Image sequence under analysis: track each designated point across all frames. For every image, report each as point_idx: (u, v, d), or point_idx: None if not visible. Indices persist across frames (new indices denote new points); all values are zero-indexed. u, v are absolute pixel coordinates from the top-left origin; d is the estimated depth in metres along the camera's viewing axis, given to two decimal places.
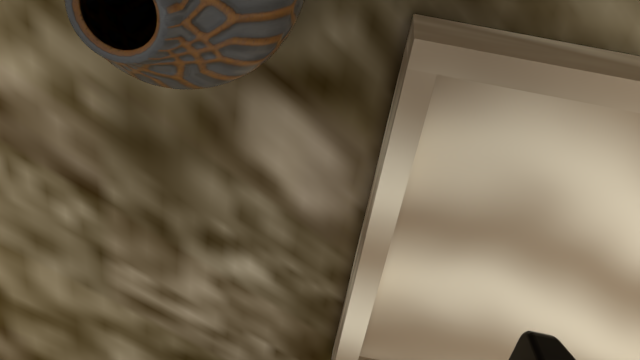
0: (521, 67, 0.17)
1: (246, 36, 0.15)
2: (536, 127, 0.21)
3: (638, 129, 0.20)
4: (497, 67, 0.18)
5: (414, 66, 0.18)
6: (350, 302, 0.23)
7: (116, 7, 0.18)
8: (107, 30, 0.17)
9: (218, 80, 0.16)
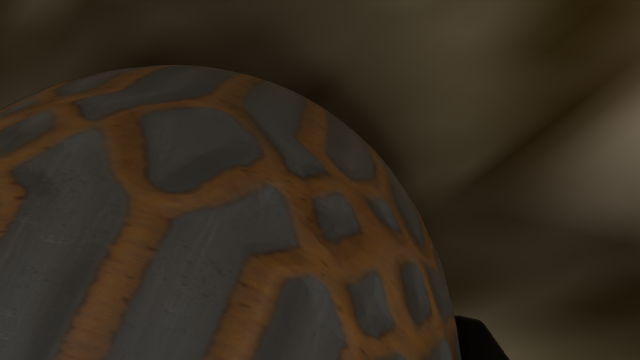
0: None
1: None
2: None
3: None
4: None
5: None
6: None
7: None
8: None
9: None
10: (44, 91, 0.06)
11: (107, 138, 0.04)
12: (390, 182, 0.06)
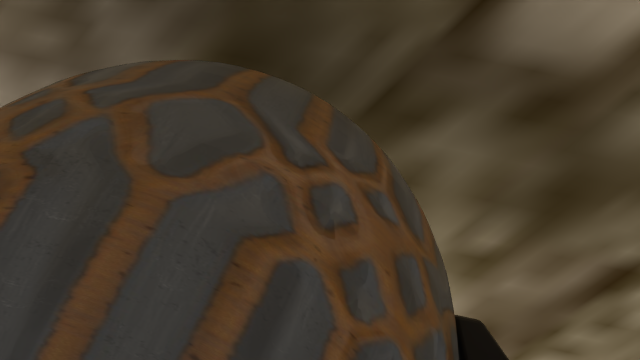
0: None
1: None
2: None
3: None
4: None
5: None
6: None
7: None
8: None
9: None
10: (60, 82, 0.06)
11: (115, 124, 0.05)
12: (392, 177, 0.06)
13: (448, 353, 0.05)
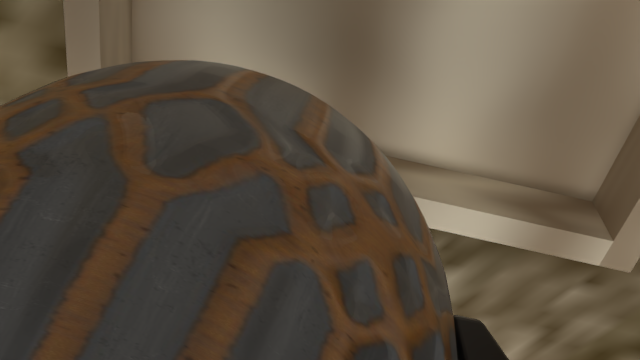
0: (75, 45, 0.16)
1: None
2: None
3: None
4: (80, 69, 0.16)
5: None
6: None
7: None
8: None
9: None
10: (56, 82, 0.06)
11: (110, 125, 0.05)
12: (390, 177, 0.06)
13: (446, 354, 0.05)
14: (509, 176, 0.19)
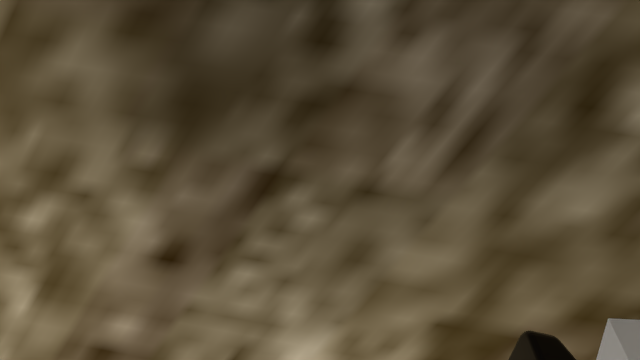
0: None
1: None
2: None
3: None
4: None
5: None
6: None
7: None
8: None
9: None
10: None
11: None
12: None
13: None
14: None
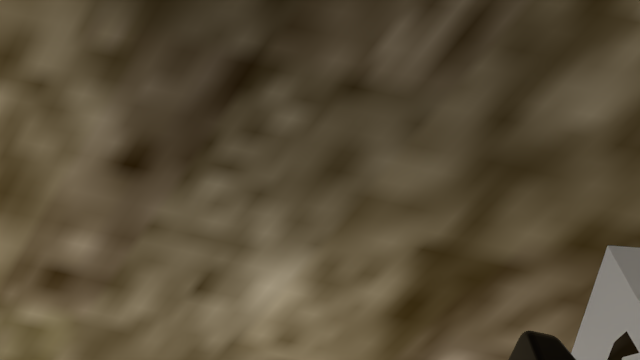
0: None
1: None
2: None
3: None
4: None
5: None
6: None
7: None
8: None
9: None
10: None
11: None
12: None
13: None
14: None
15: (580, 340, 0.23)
